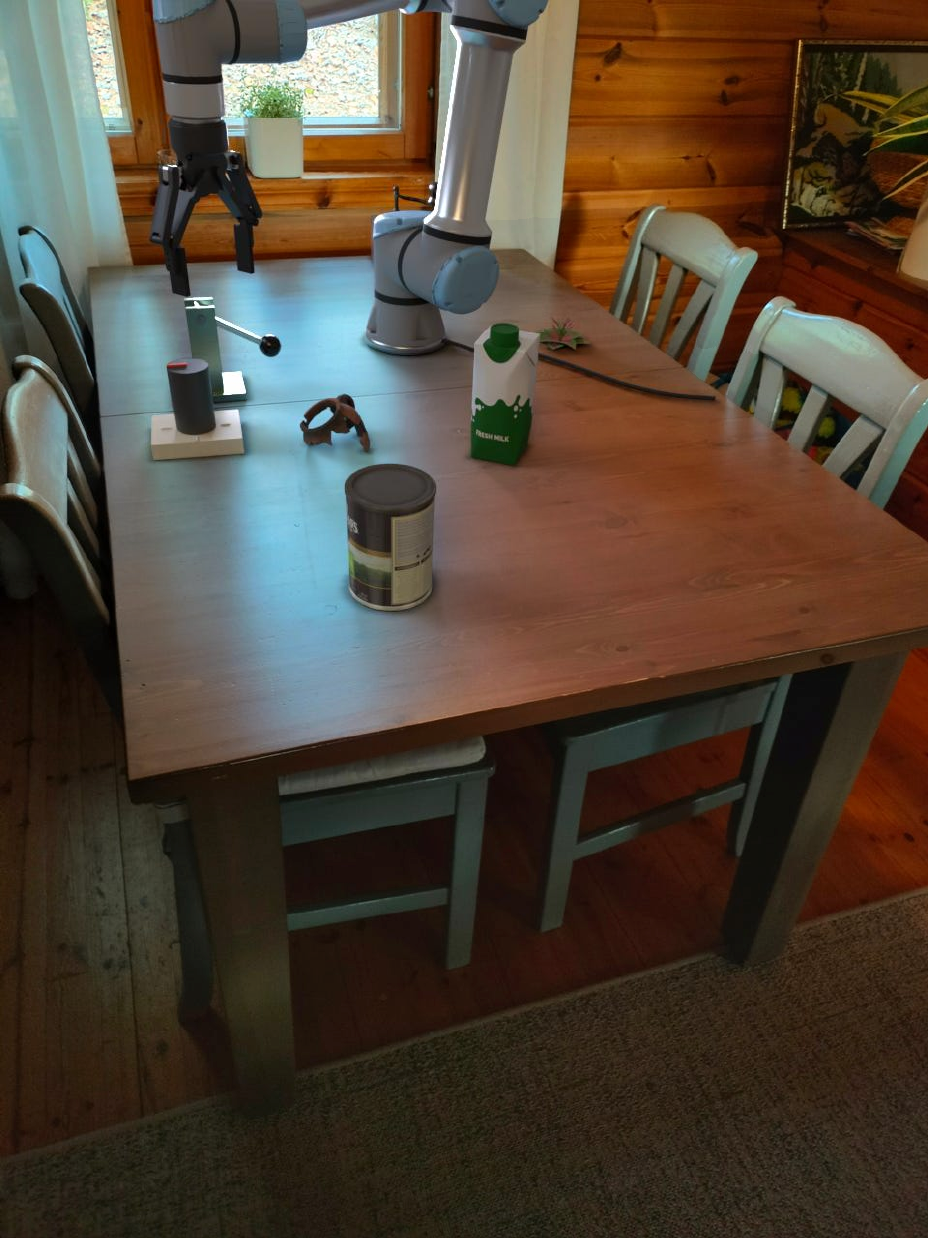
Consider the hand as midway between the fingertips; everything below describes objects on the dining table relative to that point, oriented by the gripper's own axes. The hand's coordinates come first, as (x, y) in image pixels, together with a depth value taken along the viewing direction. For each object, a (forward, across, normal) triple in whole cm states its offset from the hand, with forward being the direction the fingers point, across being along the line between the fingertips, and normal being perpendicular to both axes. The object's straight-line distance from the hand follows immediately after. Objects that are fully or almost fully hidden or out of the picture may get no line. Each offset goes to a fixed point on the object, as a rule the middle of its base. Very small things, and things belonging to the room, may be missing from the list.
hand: (215, 282), depth 132 cm
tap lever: (+13, -9, -6) cm, 17 cm away
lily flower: (+21, -62, +29) cm, 72 cm away
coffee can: (+21, +24, +47) cm, 57 cm away
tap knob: (+19, +9, +2) cm, 21 cm away
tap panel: (+21, +9, +2) cm, 23 cm away
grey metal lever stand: (+21, -6, -9) cm, 24 cm away
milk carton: (+21, -14, +41) cm, 48 cm away
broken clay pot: (+21, -3, +19) cm, 29 cm away
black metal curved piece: (+20, -86, -22) cm, 92 cm away
